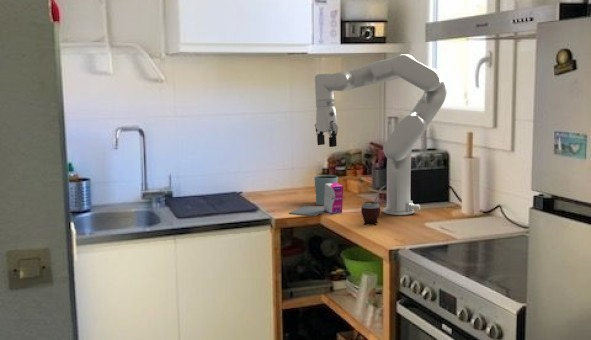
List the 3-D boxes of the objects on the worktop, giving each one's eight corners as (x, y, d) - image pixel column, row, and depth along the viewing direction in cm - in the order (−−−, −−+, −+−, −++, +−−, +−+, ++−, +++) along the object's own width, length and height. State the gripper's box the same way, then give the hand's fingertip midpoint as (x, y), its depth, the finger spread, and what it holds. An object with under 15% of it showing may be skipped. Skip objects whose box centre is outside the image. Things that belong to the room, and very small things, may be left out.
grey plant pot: (310, 203, 283) (309, 176, 282) (328, 200, 289) (327, 173, 287) (324, 207, 275) (324, 179, 273) (342, 203, 281) (342, 176, 279)
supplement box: (330, 214, 262) (330, 186, 259) (323, 210, 267) (324, 183, 265) (342, 212, 264) (343, 185, 262) (336, 208, 270) (337, 182, 267)
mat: (331, 208, 272) (331, 207, 272) (315, 216, 259) (315, 215, 259) (305, 206, 278) (305, 205, 278) (288, 213, 265) (288, 212, 265)
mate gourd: (357, 223, 247) (357, 184, 244) (374, 220, 251) (374, 182, 248) (369, 227, 240) (369, 187, 238) (386, 224, 244) (386, 184, 242)
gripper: (344, 103, 259) (345, 146, 262) (322, 103, 274) (324, 143, 277) (327, 105, 256) (329, 148, 258) (307, 104, 271) (309, 144, 274)
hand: (326, 145), depth 268 cm, fingers open, 9 cm apart
